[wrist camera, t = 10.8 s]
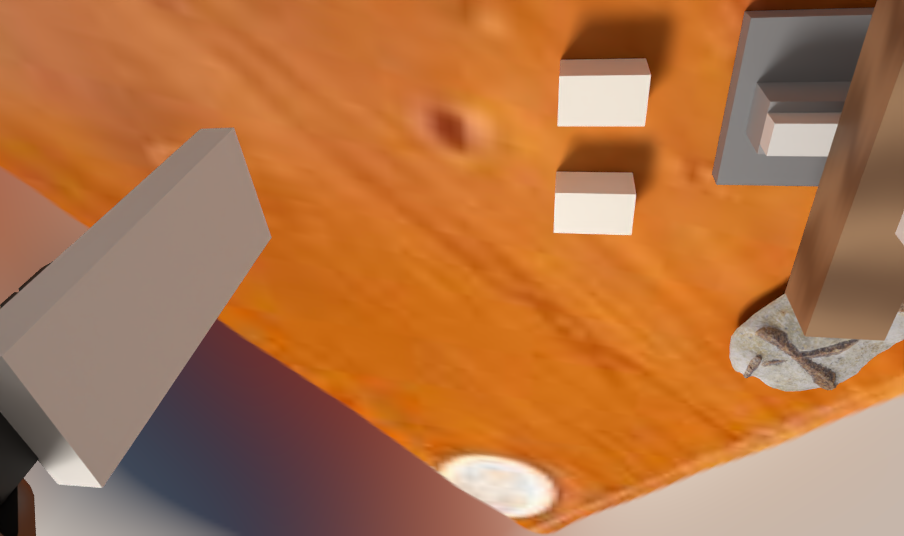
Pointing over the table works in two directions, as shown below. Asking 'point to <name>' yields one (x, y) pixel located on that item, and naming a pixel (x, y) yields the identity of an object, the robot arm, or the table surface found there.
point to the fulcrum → (788, 94)
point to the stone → (801, 350)
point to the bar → (859, 201)
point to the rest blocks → (599, 104)
